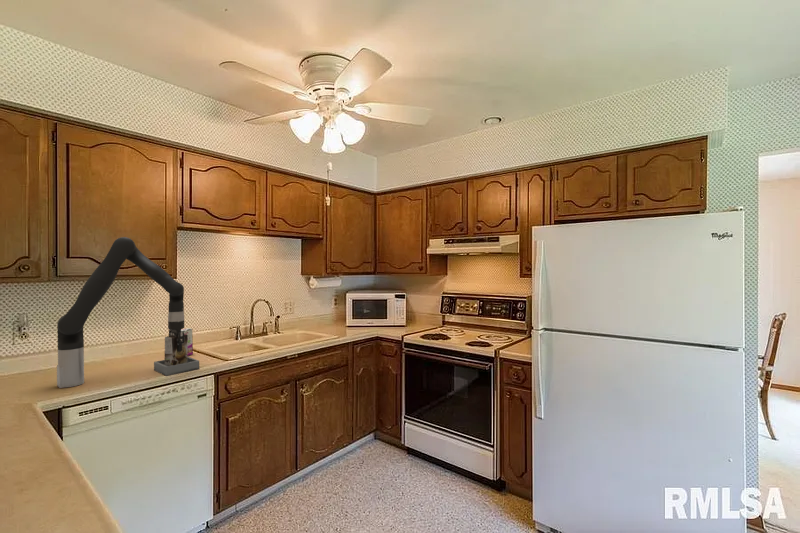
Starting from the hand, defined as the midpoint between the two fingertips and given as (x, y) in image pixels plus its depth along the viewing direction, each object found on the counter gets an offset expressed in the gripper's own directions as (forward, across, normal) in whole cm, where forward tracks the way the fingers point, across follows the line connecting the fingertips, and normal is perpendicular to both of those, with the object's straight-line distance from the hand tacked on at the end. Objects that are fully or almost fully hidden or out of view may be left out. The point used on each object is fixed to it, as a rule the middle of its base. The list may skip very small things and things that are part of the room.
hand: (176, 350), depth 200 cm
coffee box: (+8, 0, 0) cm, 8 cm away
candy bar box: (+11, -28, +14) cm, 33 cm away
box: (+10, 0, 0) cm, 10 cm away
